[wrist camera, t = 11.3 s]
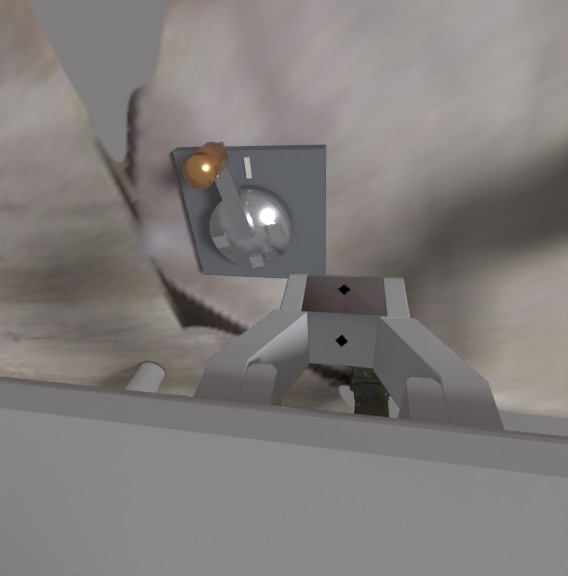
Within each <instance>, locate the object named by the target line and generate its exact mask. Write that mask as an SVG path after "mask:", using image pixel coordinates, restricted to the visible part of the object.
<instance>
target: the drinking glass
mask: <svg viewBox="0 0 568 576" xmlns="http://www.w3.org/2000/svg"><path fill="white" fill-rule="evenodd" d="M164 377H165V372H164V370H163V369H162V368H161V367H160V366H159V365H157V364H155V363H151V362H146V363H143V364H141V365H140V367H139V368H138V370H137V372H136V373H135V375H134V376H133V377H132V379H131V380H130V382H129V383H128V384H127V386H126V387H125V388H124V390H134V391H143V392H152V393H157V392H158V390H159V387H160V385H161V383H162V381H163V379H164Z"/></svg>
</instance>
